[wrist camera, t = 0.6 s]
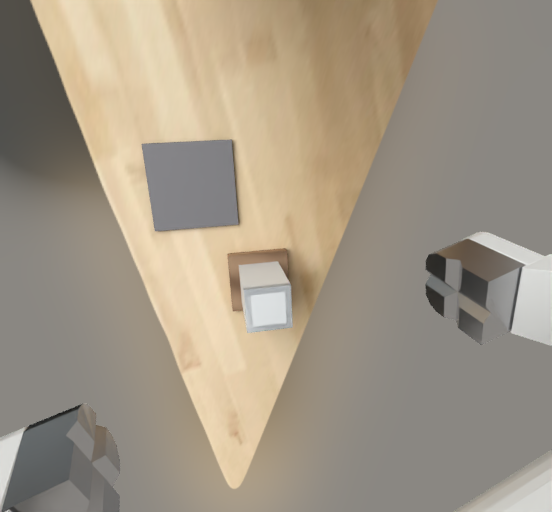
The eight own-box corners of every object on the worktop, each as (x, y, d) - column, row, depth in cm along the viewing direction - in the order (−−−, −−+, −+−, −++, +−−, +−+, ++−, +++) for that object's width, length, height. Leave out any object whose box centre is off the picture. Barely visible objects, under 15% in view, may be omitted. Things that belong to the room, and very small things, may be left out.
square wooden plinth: (227, 253, 55) (228, 264, 50) (285, 248, 56) (292, 258, 51) (232, 307, 57) (234, 323, 52) (287, 301, 59) (294, 316, 54)
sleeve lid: (238, 265, 54) (243, 290, 45) (277, 261, 55) (290, 285, 45) (241, 301, 56) (247, 333, 46) (279, 297, 57) (292, 327, 47)
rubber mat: (142, 144, 48) (141, 143, 48) (231, 139, 50) (231, 139, 50) (155, 230, 52) (154, 231, 52) (238, 223, 54) (238, 224, 53)
